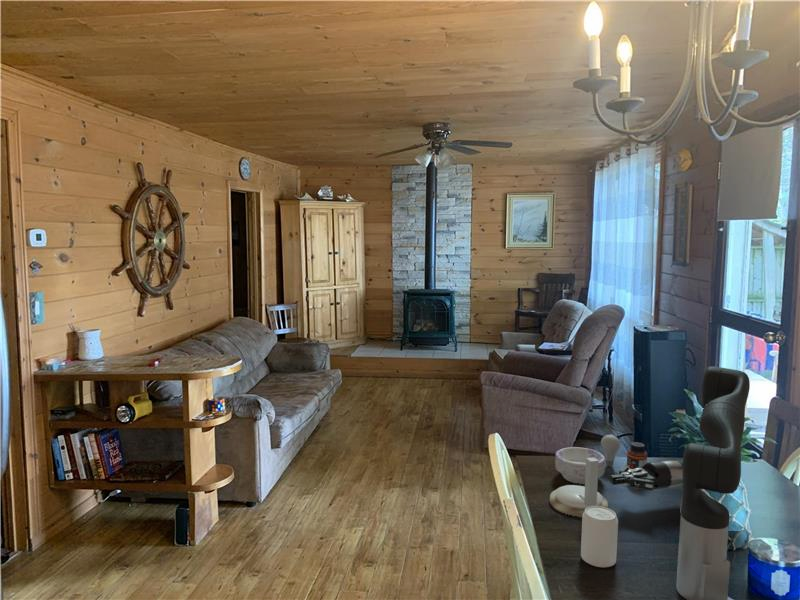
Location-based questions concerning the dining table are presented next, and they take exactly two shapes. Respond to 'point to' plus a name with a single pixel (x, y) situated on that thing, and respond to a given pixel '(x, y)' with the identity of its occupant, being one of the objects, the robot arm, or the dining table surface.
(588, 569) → the dining table surface
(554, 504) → the dial base
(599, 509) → the beverage can
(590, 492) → the dial
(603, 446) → the lightbulb
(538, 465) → the dining table surface
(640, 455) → the supplement bottle
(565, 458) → the paper bowls
